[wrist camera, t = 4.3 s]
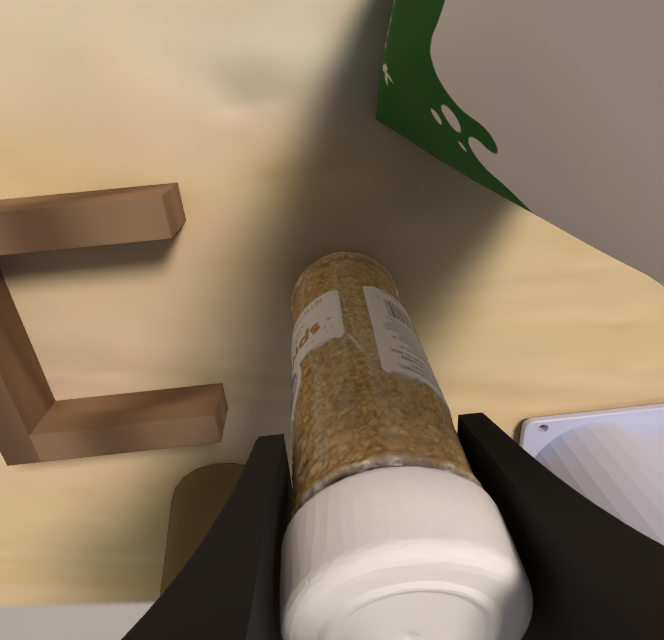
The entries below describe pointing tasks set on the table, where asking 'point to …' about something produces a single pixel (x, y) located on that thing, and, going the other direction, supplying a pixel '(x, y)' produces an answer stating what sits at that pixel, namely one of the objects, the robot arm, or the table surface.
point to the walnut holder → (22, 364)
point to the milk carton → (541, 109)
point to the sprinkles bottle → (384, 481)
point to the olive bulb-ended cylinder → (195, 513)
